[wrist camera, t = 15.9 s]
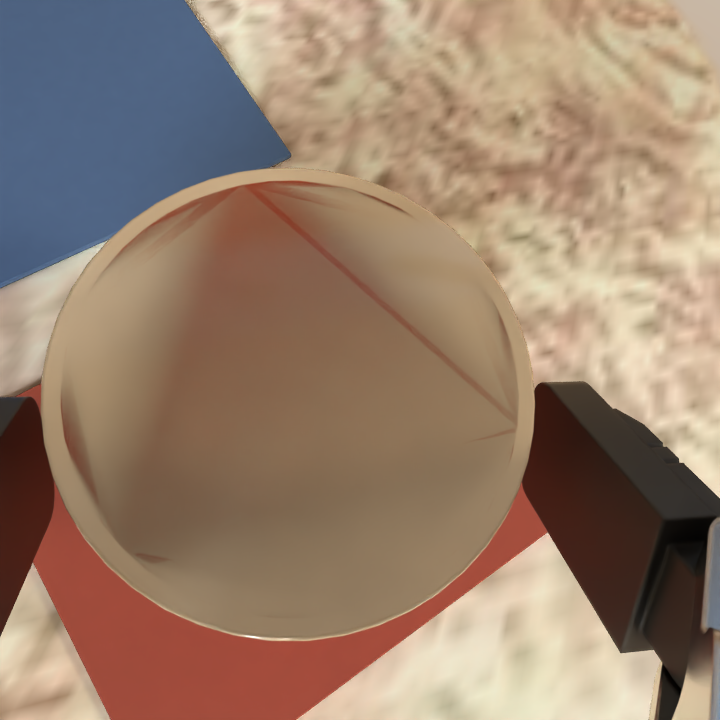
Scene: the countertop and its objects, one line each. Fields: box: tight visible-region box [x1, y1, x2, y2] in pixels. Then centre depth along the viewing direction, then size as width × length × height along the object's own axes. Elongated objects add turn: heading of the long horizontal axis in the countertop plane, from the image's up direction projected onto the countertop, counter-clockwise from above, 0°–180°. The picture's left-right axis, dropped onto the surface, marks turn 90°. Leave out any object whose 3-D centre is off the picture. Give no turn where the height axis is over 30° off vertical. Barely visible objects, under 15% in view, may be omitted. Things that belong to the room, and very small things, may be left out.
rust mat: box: [15, 384, 548, 720], centre depth 16 cm, size 12×10×1 cm
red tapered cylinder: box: [40, 168, 535, 641], centre depth 12 cm, size 7×7×8 cm
